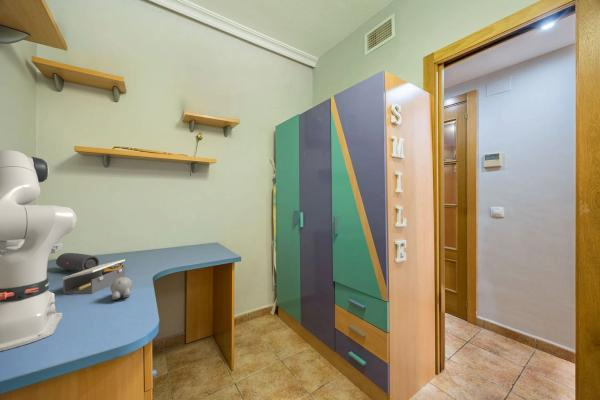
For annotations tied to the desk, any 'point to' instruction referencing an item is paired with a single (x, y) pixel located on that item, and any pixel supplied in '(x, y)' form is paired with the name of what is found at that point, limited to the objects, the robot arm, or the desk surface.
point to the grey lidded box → (91, 282)
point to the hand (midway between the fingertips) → (53, 251)
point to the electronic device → (112, 268)
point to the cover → (93, 269)
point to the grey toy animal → (121, 288)
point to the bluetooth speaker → (77, 261)
